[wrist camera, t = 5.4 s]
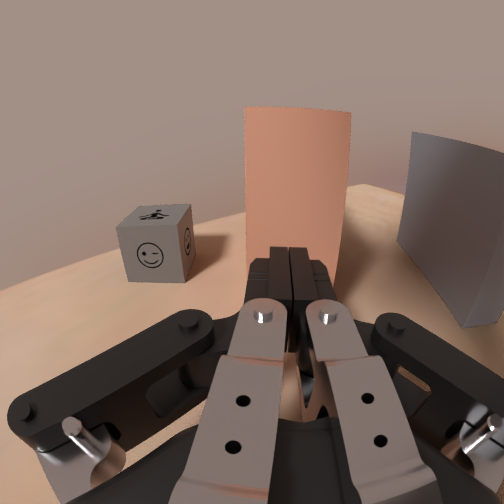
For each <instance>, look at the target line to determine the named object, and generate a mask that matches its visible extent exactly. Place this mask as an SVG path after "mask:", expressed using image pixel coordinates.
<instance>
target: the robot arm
mask: <svg viewBox="0 0 504 504" xmlns="http://www.w3.org/2000/svg"><path fill="white" fill-rule="evenodd" d="M287 343H288V352H289V353H296V364H297V367H296V374H297V380H298V387H299V394H300V401H301V408H302V423H299V422H294V421H289V420H285V419H280V418H278V416H279V407H280V397H281V387H282V377H283V366H284V361H283V359H284V352H286V351H287ZM400 365H401V366H402V367H403V368H405V369H406V370H408V371H409V372H411V373H412V374H414V375H415V376H416V377H418V378H419V379H421V380H422V381H424V382H425V383H426V384H428V385H429V387H430V389H431V391H430V392H427V391H424V390H422V389H421V388H419V387H418V386H416V385H415V384H414V383H412V382H411V381H409V380H408V379H407V378H405V377H404V376H402V375H401V374H399V373H398V372H397V371H398V369H399V367H400ZM206 398H207V400H206V403H205V406H204V410H203V413H202V416H201V419H200V422H199V424H198V425H195V426H192V427H190V428H187V429H185V430H183V431H181V432H179V433H178V434H176V435H174V436H173V437H171V438H170V439H169V440H167V441H166V442H165V443H163V444H162V445H160V446H159V447H158V448H156V449H155V450H153V451H152V452H150V453H149V454H148V455H146V456H145V457H143V458H142V459H140V460H139V461H137V462H136V463H134V464H133V465H131V466H130V467H128V468H126V469H125V470H123V471H122V469H123V467H124V465H125V462H126V453H125V452H127V451H129V450H130V449H132V448H134V447H135V446H137V445H139V444H140V443H142V442H143V441H145V440H147V439H148V438H150V437H151V436H153V435H154V434H156V433H158V432H159V431H161V430H162V429H164V428H165V427H167V426H168V425H170V424H171V423H173V422H174V421H175V420H177V419H178V418H180V417H181V416H183V415H184V414H186V413H187V412H188V411H190V410H191V409H193V408H194V407H195V406H197V405H198V404H200V403H201V402H202V401H204V400H205V399H206ZM7 421H8V425H9V427H10V429H11V430H12V431H13V432H14V433H15V434H16V435H17V436H18V437H19V438H20V439H22V440H23V441H24V442H25V443H26V444H28V445H29V446H30V447H31V448H33V449H34V450H35V452H36V454H37V456H38V459H39V461H40V463H41V466H42V468H43V470H44V472H45V474H46V477H47V479H48V481H49V483H50V485H51V487H52V489H53V491H54V492H55V494H56V496H57V498H58V500H59V502H60V503H61V504H502V503H501V501H500V499H499V497H498V495H497V494H496V492H497V490H498V488H499V486H500V484H501V482H502V480H503V478H504V379H503V378H501V377H500V376H498V375H497V374H495V373H494V372H492V371H491V370H489V369H488V368H486V367H485V366H483V365H482V364H480V363H479V362H477V361H476V360H474V359H472V358H471V357H469V356H468V355H466V354H465V353H463V352H462V351H460V350H458V349H457V348H455V347H454V346H452V345H451V344H449V343H447V342H446V341H444V340H443V339H441V338H439V337H438V336H436V335H435V334H433V333H431V332H430V331H428V330H427V329H425V328H423V327H422V326H420V325H419V324H417V323H415V322H414V321H412V320H410V319H409V318H407V317H405V316H403V315H401V314H398V313H384V314H382V315H380V316H379V317H378V318H377V319H376V321H375V324H371V323H366V322H361V321H357V320H354V319H353V318H352V316H351V313H350V311H349V310H348V308H347V307H346V306H344V305H343V304H341V303H339V302H337V299H336V296H335V293H334V289H333V286H332V283H331V280H330V276H329V273H328V270H327V267H326V266H325V265H324V264H323V263H322V262H321V261H320V260H310V259H309V255H308V250H307V248H306V247H289V249H288V247H277V246H270V253H269V258H255V259H254V260H253V262H252V263H251V264H250V267H249V273H248V280H247V286H246V293H245V299H244V304H243V306H242V307H241V309H240V311H239V312H237V313H236V314H234V315H232V316H230V317H227V318H223V319H217V320H212V318H211V317H210V315H208V314H207V313H205V312H203V311H201V310H196V309H188V310H182V311H179V312H177V313H175V314H173V315H171V316H169V317H167V318H166V319H164V320H162V321H160V322H158V323H156V324H155V325H153V326H151V327H149V328H147V329H145V330H144V331H142V332H140V333H138V334H136V335H134V336H133V337H131V338H129V339H127V340H125V341H123V342H121V343H120V344H118V345H116V346H114V347H112V348H110V349H108V350H107V351H105V352H103V353H101V354H99V355H97V356H95V357H93V358H92V359H90V360H88V361H86V362H84V363H82V364H80V365H78V366H76V367H74V368H72V369H71V370H69V371H67V372H65V373H63V374H61V375H59V376H57V377H55V378H53V379H51V380H49V381H47V382H46V383H44V384H42V385H40V386H38V387H36V388H34V389H32V390H30V391H28V392H26V393H24V394H22V395H20V396H18V397H17V398H16V399H15V400H14V401H13V402H12V403H11V405H10V407H9V409H8V414H7ZM121 471H122V472H121ZM119 472H120V473H119ZM116 474H117V475H116Z"/></svg>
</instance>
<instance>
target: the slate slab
mask: <svg viewBox="0 0 504 504" xmlns="http://www.w3.org/2000/svg"><path fill="white" fill-rule="evenodd" d="M410 151H411V152H410V160H409V170H408V179H407V185H406V192H405V199H404V205H403V211H402V217H401V222H400V227H399V232H398V237H397V242H398V243H399V244H400V246H401V247H402V248H403V249H404V250H405V252H406V253H407V254H408V255H409V256H410V258H411V259H412V260H413V261H414V263H415V264H416V265H417V266H418V268H419V269H420V270H421V272H422V273H423V274H424V275H425V277H426V278H427V279H428V281H429V282H430V283H431V285H432V286H433V287H434V289H435V290H436V291H437V293H438V294H439V296H440V297H441V298H442V300H443V301H444V303H445V304H446V306H447V307H448V308H449V310H450V311H451V313H452V314H453V316H454V317H455V319H456V320H457V322H458V323H459V325H460V326H461V328H462V329H463V328H469V327H476V326H482V325H487V324H493V323H497V321H498V319H499V317H500V316H501V314H502V312H503V310H504V153H501V152H499V151H495V150H492V149H488V148H485V147H481V146H478V145H474V144H470V143H466V142H462V141H458V140H453V139H449V138H444V137H439V136H434V135H429V134H423V133H417V132H412V138H411V150H410Z"/></svg>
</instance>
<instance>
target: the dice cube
mask: <svg viewBox="0 0 504 504" xmlns="http://www.w3.org/2000/svg"><path fill="white" fill-rule="evenodd" d="M116 230H117V235H118V240H119V244H120V249H121V254H122V258H123V262H124V266H125V270H126V274H127V278H128V282H151V283H185V282H186V279H187V276H188V273H189V271H190V268H191V265H192V263H193V260H194V257H195V254H196V251H195V242H194V232H193V222H192V210H191V204H173V205H154V206H139V207H138V208H136V209H135V210H134V211H133V212H132V213H131V214H130V215H129V216H127V217H126V218H125V219H124V220H123V221H122V222H121V223H120V224H119V225H118V226H117V227H116Z"/></svg>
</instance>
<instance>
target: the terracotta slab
mask: <svg viewBox="0 0 504 504" xmlns="http://www.w3.org/2000/svg"><path fill="white" fill-rule="evenodd" d="M350 132H351V113H350V112H342V111H333V110H322V109H310V108H292V107H245V189H246V258H247V280H248V273H249V267H250V264H251V263H252V262H253V260H254V259H255V258H269V253H270V246H277V247H288V249H289V247H306V248H307V250H308V255H309V259H310V260H320V261H321V262H322V263H323V264H324V265H325V266H326V267H327V270H328V273H329V276H330V280H331V283H332V286H333V285H334V279H335V273H336V267H337V261H338V255H339V248H340V241H341V234H342V226H343V218H344V209H345V200H346V190H347V179H348V166H349V151H350Z"/></svg>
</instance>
